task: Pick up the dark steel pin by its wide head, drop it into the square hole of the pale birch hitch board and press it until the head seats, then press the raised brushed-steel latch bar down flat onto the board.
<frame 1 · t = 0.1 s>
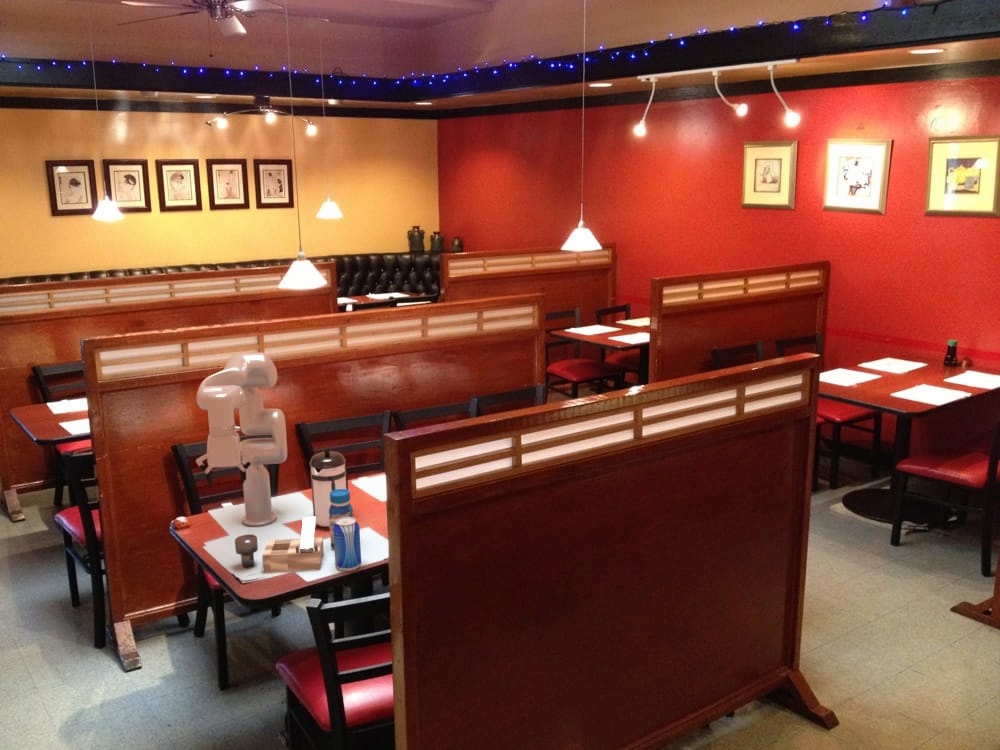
hand: (227, 483, 264), 31 cm above the table, fingers open, 9 cm apart
hitch board: (294, 563, 279), on the table
coffee press: (332, 524, 311), on the table
pin: (248, 565, 277), on the table
latch bar: (307, 534, 277), point 10 cm above the table, hinge at 30.0°
beer can: (348, 567, 276), on the table
beverage bottle: (343, 547, 291), on the table
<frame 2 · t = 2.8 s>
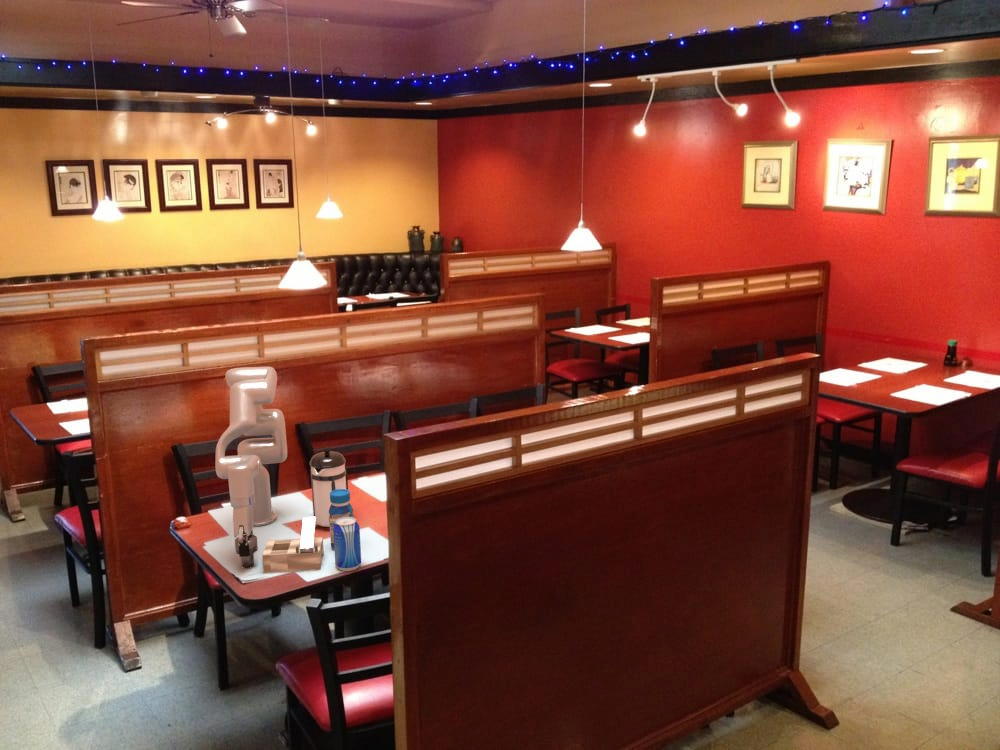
hand: (246, 550, 276), 5 cm above the table, fingers closed on pin, 7 cm apart
pin: (248, 565, 277), on the table, touching gripper
everything else where it was.
when the fingers open (7 cm above the table, at t = 8.6 s): pin drops 1 cm, resting on hitch board.
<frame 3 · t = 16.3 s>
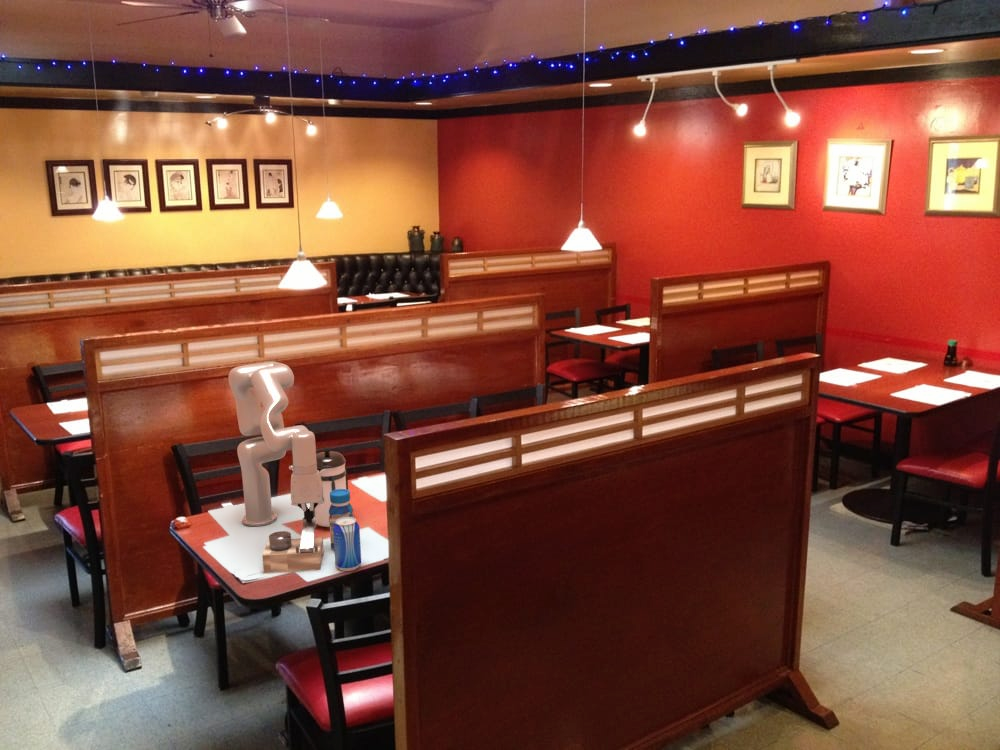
hand: (309, 521, 280), 13 cm above the table, fingers closed
pin: (282, 562, 278), resting on hitch board
latch bar: (308, 534, 277), point 10 cm above the table, hinge at 29.0°, touching gripper
everything else where it was.
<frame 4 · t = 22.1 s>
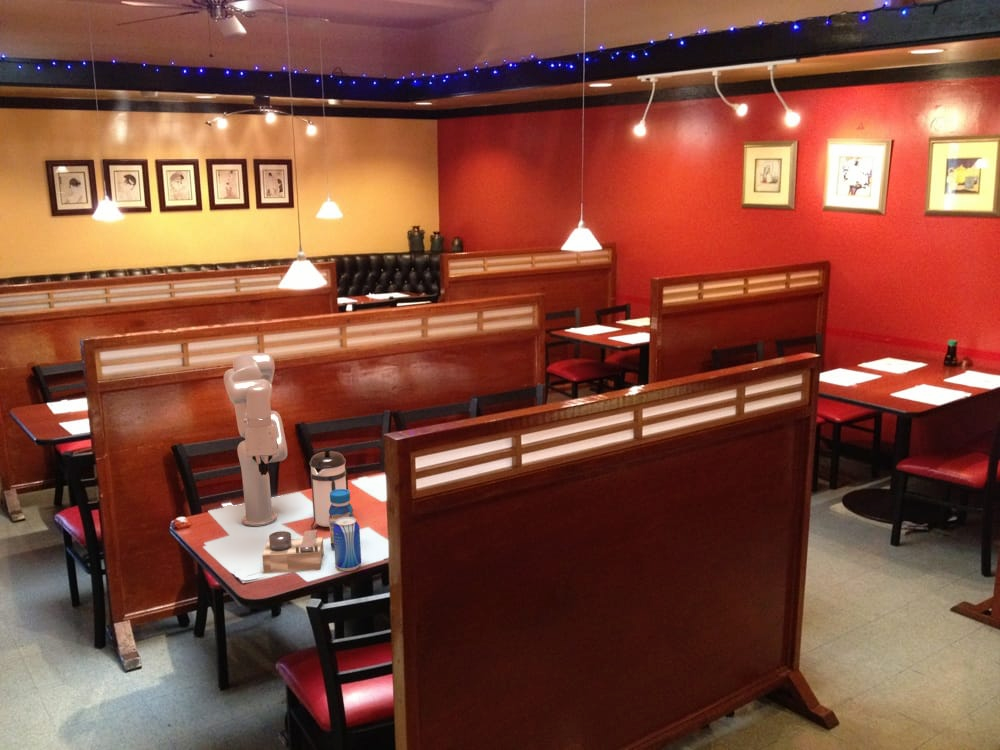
hand: (264, 473, 284), 27 cm above the table, fingers closed
latch bar: (308, 540, 279), point 7 cm above the table, hinge at 2.7°
everything else where it was.
at the end: pin 0.0 cm from the target spot on the hitch board, point 0.5 cm above the hitch board's base; pin tilted 0°; latch bar at +3° (first picture: +30°) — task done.
